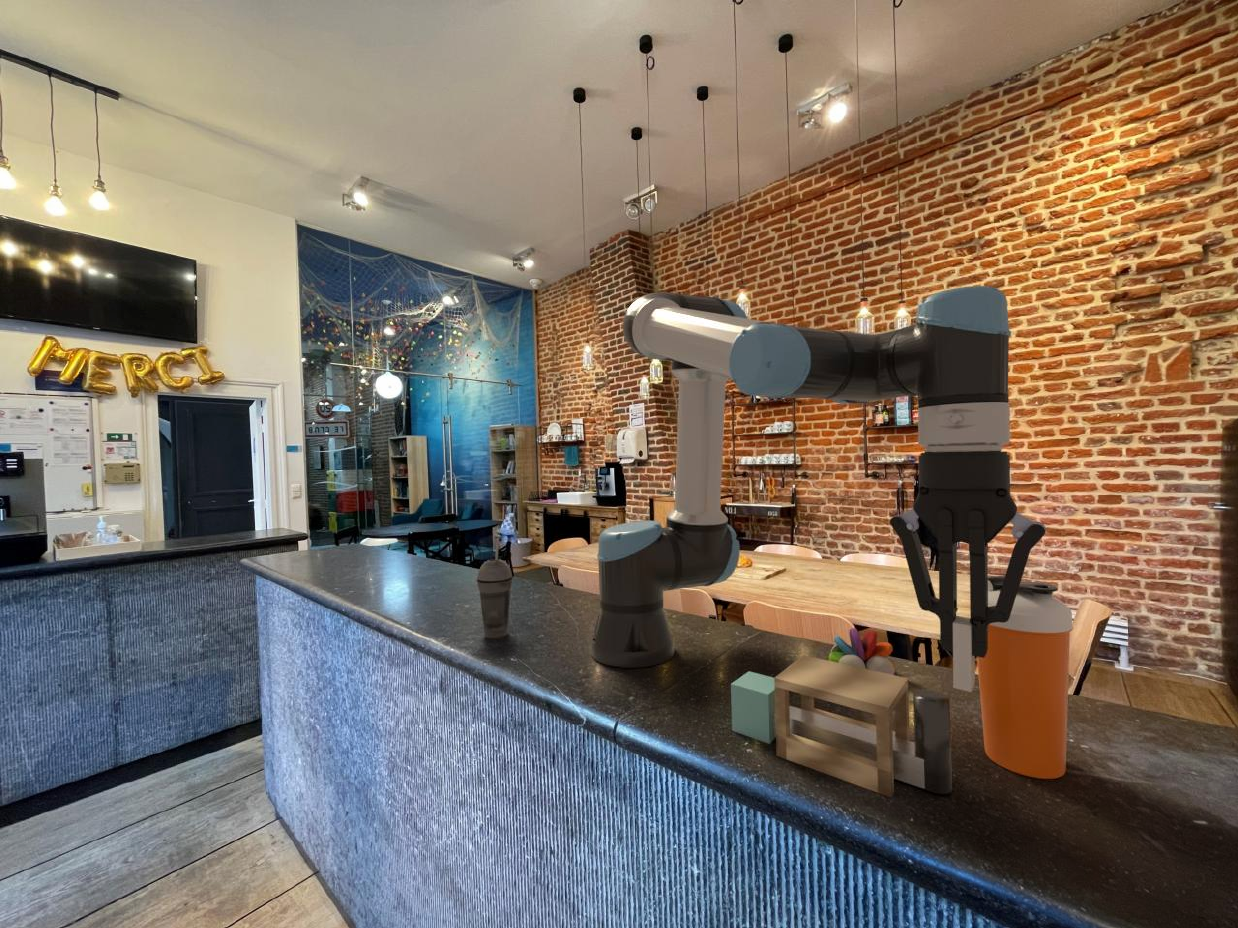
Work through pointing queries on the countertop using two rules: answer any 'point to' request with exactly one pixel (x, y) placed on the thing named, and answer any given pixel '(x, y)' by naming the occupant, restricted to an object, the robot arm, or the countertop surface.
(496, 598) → the beverage cup
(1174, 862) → the countertop surface
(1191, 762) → the countertop surface
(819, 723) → the hammer
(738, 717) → the block
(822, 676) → the tunnel
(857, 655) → the rainbow segmented toy
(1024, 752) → the shaker bottle
